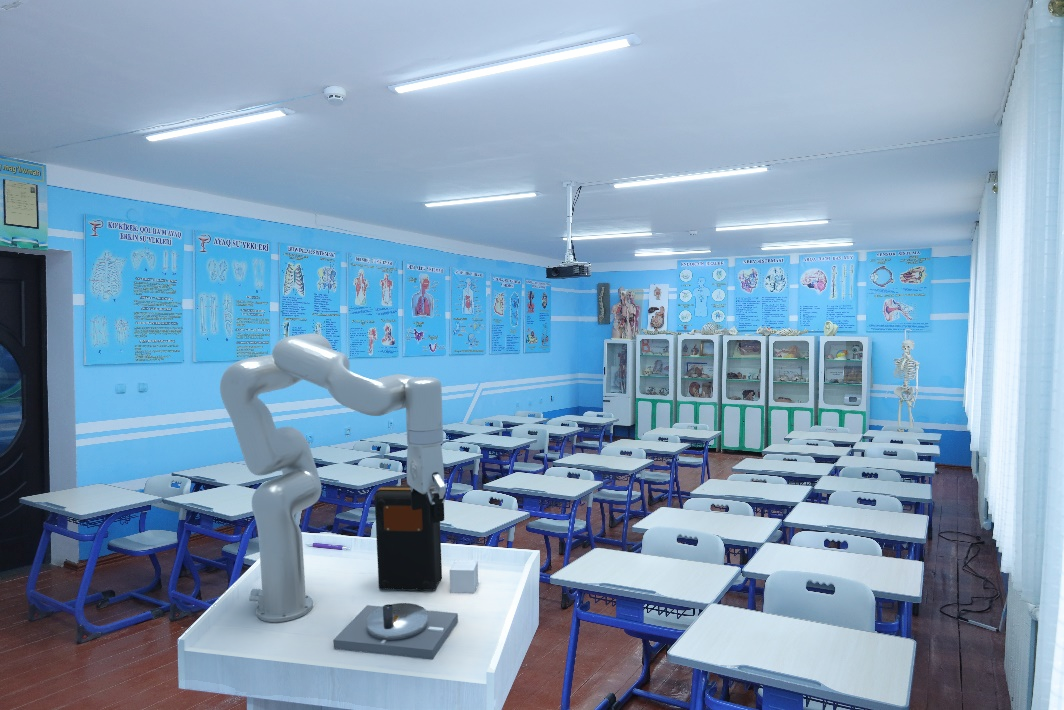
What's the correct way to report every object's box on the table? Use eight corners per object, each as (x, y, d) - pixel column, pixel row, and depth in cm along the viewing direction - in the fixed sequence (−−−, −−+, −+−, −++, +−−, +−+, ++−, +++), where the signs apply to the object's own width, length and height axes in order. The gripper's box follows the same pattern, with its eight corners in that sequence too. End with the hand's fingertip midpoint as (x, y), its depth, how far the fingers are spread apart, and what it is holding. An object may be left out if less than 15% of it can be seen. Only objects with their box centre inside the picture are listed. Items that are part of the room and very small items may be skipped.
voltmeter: (444, 578, 183) (441, 484, 180) (436, 593, 174) (433, 494, 172) (385, 577, 185) (381, 483, 182) (374, 592, 176) (370, 494, 173)
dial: (382, 608, 162) (381, 582, 161) (436, 613, 159) (435, 586, 159) (356, 636, 150) (354, 608, 149) (414, 642, 147) (413, 613, 146)
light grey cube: (454, 582, 181) (454, 560, 180) (478, 583, 180) (477, 560, 179) (450, 593, 175) (449, 569, 174) (474, 593, 174) (473, 570, 173)
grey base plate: (333, 648, 149) (333, 638, 149) (367, 613, 165) (367, 603, 165) (432, 659, 145) (432, 648, 144) (457, 621, 160) (457, 611, 160)
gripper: (393, 431, 155) (396, 507, 157) (424, 446, 140) (426, 530, 142) (425, 426, 159) (428, 501, 161) (458, 441, 144) (461, 523, 146)
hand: (427, 515), depth 151 cm, fingers open, 9 cm apart
